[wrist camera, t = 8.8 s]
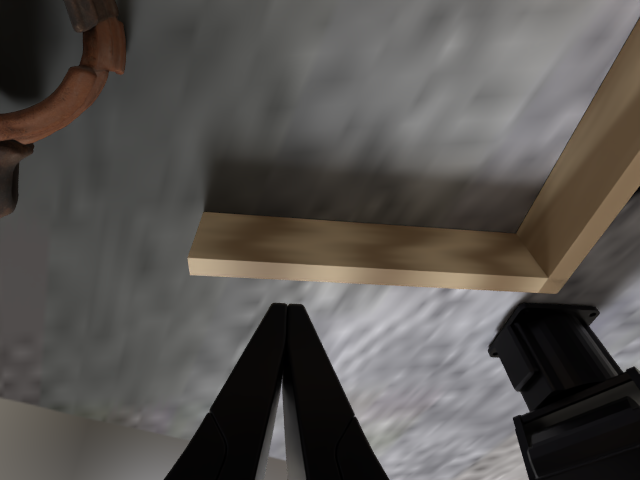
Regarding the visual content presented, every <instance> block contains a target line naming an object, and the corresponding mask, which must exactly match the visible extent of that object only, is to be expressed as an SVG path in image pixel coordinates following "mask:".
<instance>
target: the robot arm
mask: <svg viewBox="0 0 640 480" xmlns="http://www.w3.org/2000/svg"><path fill="white" fill-rule="evenodd" d="M599 314H600V312H599V311H598V309H597V308H596V307H593V306H572V305H551V304H531V303H524V304H521V305H519V306H518V307H517V309H516V310H515V312H514V313H513V314H512V316H511V317H510V319H509V320H508V322H507V323H506V325H505V326H504V328H503V329H502V330H501V332H500V333H499V335H498V336H497V338H496V339H495V341H494V342H493V344H492V345H491V346H490V348H489V349H488V353H489V355H490V356H491V357H499V358H500V360H501V362H502V364H503V366H504V368H505V370H506V372H507V375H508V377H509V379H510V381H511V383H512V385H513V387H514V389H515V390H516V391H518V392H521V394H522V396H523V398H524V400H525V402H526V404H527V406H528V408H529V410H530V412H529V413H526V414H524V415H518V416H515V417H513V421H514V424H515V428H516V429H515V431H516V435H517V438H518V442H519V445H520V449H521V452H522V456H523V459H524V463H525V466H526V470H527V474H528V477H529V480H640V371H639V370H638V369H637V368H636V367H635V366H634V367H631V368H629V369H627V370H626V372H624V373H623V371H622V370H621V369H620V367H619V366H618V365H617V363H616V362H615V361H614V359H613V358H612V357H611V355H610V354H609V352H608V351H607V350H606V348H605V347H604V346H603V344H602V343H601V342H600V340H599V339H598V338H597V336H596V335H595V334H594V332H593V331H592V330H591V328H590V327H589V325H590V324H591V323H592V322H593V321H594V320H595V318H596V317H597V316H598V315H599ZM281 384H282V394H283V412H284V429H285V446H286V463H287V480H389V478H388V477H387V475H386V473H385V471H384V470H383V468H382V466H381V464H380V463H379V461H378V459H377V458H376V456H375V454H374V452H373V450H372V448H371V446H370V444H369V442H368V440H367V438H366V437H365V435H364V433H363V431H362V428H361V426H360V424H359V422H358V420H357V418H356V417H354V415H355V414H354V412H353V409H352V407H351V405H350V403H349V401H348V399H347V397H346V395H345V392H344V390H343V388H342V386H341V384H340V382H339V380H338V377H337V375H336V373H335V371H334V369H333V367H332V365H331V363H330V360H329V358H328V356H327V354H326V352H325V350H324V348H323V345H322V343H321V341H320V339H319V337H318V335H317V333H316V330H315V328H314V326H313V324H312V322H311V320H310V318H309V316H308V313H307V311H306V309H305V307H304V306H303V305H302V304H289V305H288V306H287V304H285V303H272V304H271V306H270V307H269V309H268V311H267V313H266V314H265V316H264V318H263V319H262V321H261V323H260V324H259V326H258V328H257V330H256V331H255V333H254V335H253V336H252V338H251V340H250V342H249V343H248V345H247V347H246V348H245V350H244V352H243V354H242V355H241V357H240V359H239V360H238V362H237V364H236V365H235V367H234V369H233V371H232V372H231V374H230V376H229V377H228V379H227V381H226V383H225V384H224V386H223V388H222V389H221V391H220V393H219V395H218V396H217V398H216V400H215V401H214V403H213V405H212V406H211V408H210V412H209V413H207V415H206V416H205V418H204V420H203V421H202V423H201V425H200V427H199V428H198V430H197V431H196V433H195V435H194V436H193V438H192V439H191V441H190V443H189V444H188V446H187V447H186V449H185V450H184V452H183V454H182V455H181V456H180V458H179V459H178V460H177V462H176V463H175V465H174V466H173V468H172V469H171V470H170V472H169V473H168V474H167V476H166V477H165V479H164V480H264V477H265V471H266V465H267V460H268V455H269V450H270V445H271V439H272V434H273V428H274V423H275V418H276V412H277V407H278V402H279V396H280V391H281Z"/></svg>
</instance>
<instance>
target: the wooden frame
mask: <svg viewBox="0 0 640 480" xmlns="http://www.w3.org/2000/svg"><path fill="white" fill-rule="evenodd" d="M639 186H640V18H639V20H638V22H637V24H636V25H635V27H634V29H633V31H632V32H631V34H630V36H629V38H628V39H627V41H626V43H625V45H624V46H623V48H622V50H621V52H620V53H619V55H618V57H617V58H616V60H615V62H614V64H613V65H612V67H611V69H610V71H609V72H608V74H607V76H606V78H605V79H604V81H603V83H602V85H601V86H600V88H599V90H598V92H597V93H596V95H595V97H594V99H593V100H592V102H591V104H590V106H589V107H588V109H587V111H586V112H585V114H584V116H583V118H582V119H581V121H580V123H579V125H578V126H577V128H576V130H575V132H574V133H573V135H572V137H571V139H570V140H569V142H568V144H567V146H566V147H565V149H564V151H563V153H562V154H561V156H560V158H559V160H558V161H557V163H556V165H555V166H554V168H553V170H552V172H551V173H550V175H549V177H548V179H547V180H546V182H545V184H544V186H543V187H542V189H541V191H540V193H539V194H538V196H537V198H536V200H535V201H534V203H533V205H532V207H531V208H530V210H529V212H528V214H527V215H526V217H525V219H524V220H523V222H522V224H521V226H520V227H519V229H518V231H517V233H516V234H515V233H501V232H486V231H472V230H457V229H443V228H429V227H414V226H400V225H385V224H371V223H357V222H342V221H328V220H313V219H299V218H285V217H270V216H256V215H241V214H227V213H213V212H203V215H202V218H201V221H200V224H199V227H198V230H197V232H196V235H195V238H194V241H193V244H192V247H191V250H190V253H189V256H188V264H189V270H190V275H201V276H221V277H240V278H260V279H279V280H298V281H318V282H337V283H357V284H376V285H396V286H415V287H434V288H454V289H473V290H493V291H512V292H531V293H551V294H557V293H558V292H559V291H560V289H561V288H562V287H563V286H564V284H565V283H566V282H567V280H568V279H569V278H570V276H571V275H572V274H573V272H574V271H575V270H576V268H577V267H578V266H579V265H580V263H581V262H582V261H583V259H584V258H585V257H586V255H587V254H588V253H589V251H590V250H591V249H592V248H593V246H594V245H595V244H596V242H597V241H598V240H599V238H600V237H601V236H602V234H603V233H604V232H605V230H606V229H607V228H608V227H609V225H610V224H611V223H612V221H613V220H614V219H615V217H616V216H617V215H618V213H619V212H620V211H621V209H622V208H623V207H624V206H625V204H626V203H627V202H628V200H629V199H630V198H631V196H632V195H633V194H634V192H635V191H636V190H637V189H638V187H639Z"/></svg>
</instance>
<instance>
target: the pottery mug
mask: <svg viewBox="0 0 640 480" xmlns="http://www.w3.org/2000/svg"><path fill="white" fill-rule="evenodd" d="M63 1H64V3H65V5H66V8H67V11H68V14H69V17H70V20H71V23H72V26H73V29H74V30H75V31H76V32H78V33H81V32H83V55H82V58H81V62H80V65H79V66H74V67H70V69H69V70H68V72H67V74H66V76H65V77H64V79H63V81H62V83H61V84H60V85H59V87H58V88H57V89H56V90H55V91H54V92H53V93H52V94H51V95H50V96H49V97H47V98H46V99H45V100H43V101H41V102H40V103H38V104H36V105H34V106H31V107H29V108H26V109H23V110H20V111H16V112H11V113H6V114H0V218H2V217H4V216H6V215H8V214H11V213H12V212H13V211H14V210H15V208H16V205H17V201H18V177H19V161H21V160H22V159H24V158H25V157H27V156H29V155H31V154H32V153H33V149H34V145H33V143H34V142H36V141H38V140H40V139H43V138H45V137H47V136H49V135H51V134H52V133H54V132H56V131H58V130H60V129H62V128H64V127H66V126H67V125H68V124H70V123H71V122H72V121H73V120H74V119H76V118H77V117H78V116H79V115H80V114H81V113H82V112H83V111H85V110H86V109H87V108H88V107H89V106H91V105H92V104H93V102H94V101H95V100H96V99H97V97H98V96H99V94H100V92H101V91H102V89H103V87H104V85H105V83H106V81H107V78H108V73H109V71H115V72H116V73H117V74H120V75H121V74H123V73H124V70H125V62H126V40H125V33H124V26H123V23H122V22H120V21H119V20H118V15H119V11H118V7H117V4H116V2H115V0H63Z"/></svg>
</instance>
